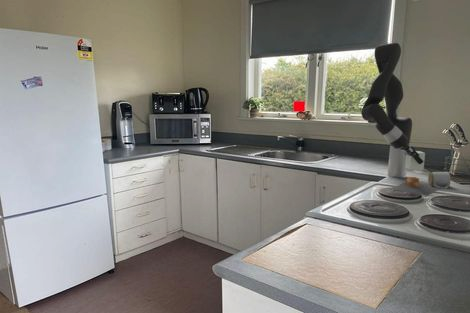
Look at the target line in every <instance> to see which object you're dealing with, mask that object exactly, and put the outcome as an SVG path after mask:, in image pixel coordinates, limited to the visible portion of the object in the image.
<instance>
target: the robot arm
mask: <svg viewBox="0 0 470 313" xmlns="http://www.w3.org/2000/svg"><path fill="white" fill-rule="evenodd" d="M401 54H402V48H401V45H400V44H399V42H389V43H384V44H379V45H376V47H375V49H374V55H373V56H374V59H375V60H374V61H375V65H376V68H377V70H378V76H376V78H374V79H373V81H372V83H371V86H370V90H369V93H368V96H367V99H366V100H365V102H364V104H363V106H362V109H361V117H362V119H363V120H364V121H368V122H369V121H373V120H374V121H375V123H376V124H375V129H376V130H377V131H378V132H379V133H380V134H381V135H382V136H383V137H384V139H385V140H386V142H388V143H389V144H390V146H389V155H388V167H387V168H388V169H387V177H388V178H389V177H390V178H402V179H403V178H405V179H406V178H407V176H406V175H407V170H408V169H407V168H405V165H406V154H408V155H409V156H412V157H413V159H415V160H416V161H417V162H418V164H421V163H423V160H422V159H421V158H420V157H419V154H418V153H417V152H416V151H417V150H416V149H414V147H413V146H412V145H410V143H411V135H412V131H413V121H412V118H410V117H406V116H405V117H401V116H398V115H397V109H398V108H399V106H400V105H401V102H402V101H403V98H404V88H403V84H402V82H401V81H400V79H399V78H398V77H397V76H396V75H395V74H394V72H395V69H396V67H397V65H398V63H399V61H400V58H401ZM383 101H384V102H385V107H386V111H385V109H384V107H382V105H380V103H381V102H383ZM409 153H410V154H409ZM414 154H416V155H415V156H414Z"/></svg>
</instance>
